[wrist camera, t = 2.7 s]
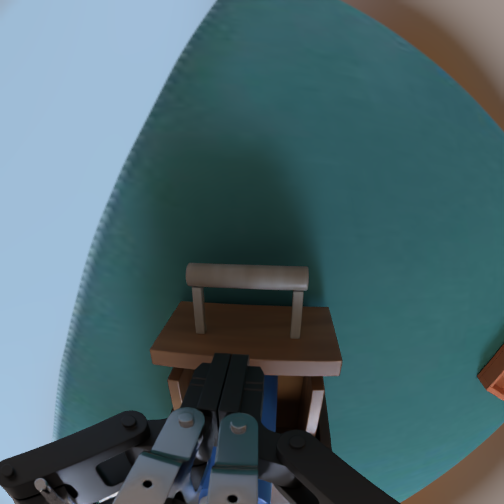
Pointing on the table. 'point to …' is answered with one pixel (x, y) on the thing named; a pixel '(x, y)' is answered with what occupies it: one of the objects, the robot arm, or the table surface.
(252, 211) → the table surface
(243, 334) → the drawer
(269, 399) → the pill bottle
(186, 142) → the table surface
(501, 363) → the tray
